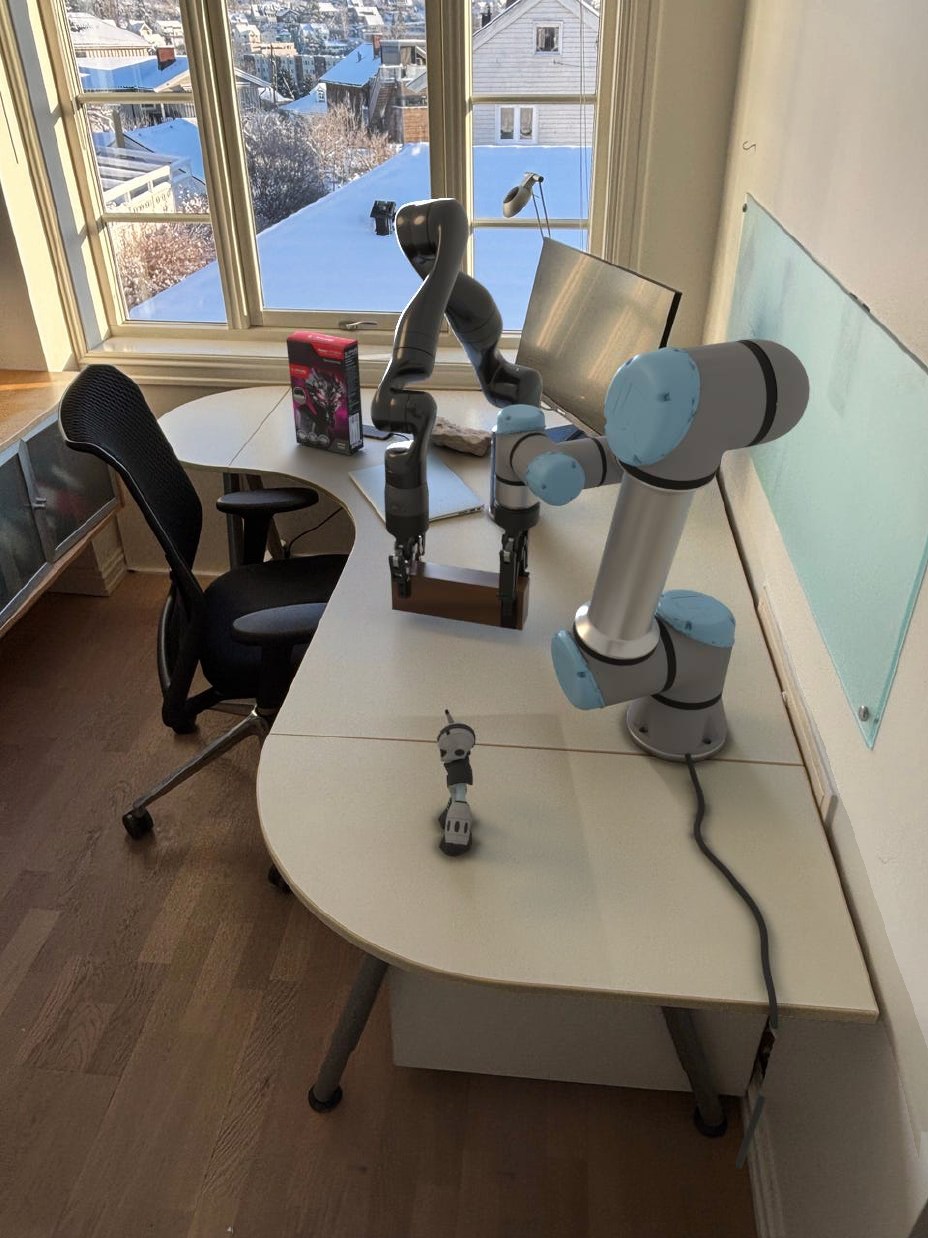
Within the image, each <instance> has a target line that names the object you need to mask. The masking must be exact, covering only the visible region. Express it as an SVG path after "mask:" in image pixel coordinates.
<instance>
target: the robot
mask: <svg viewBox="0 0 928 1238" xmlns="http://www.w3.org/2000/svg"><path fill="white" fill-rule="evenodd" d="M444 713H445V717H446V719H447V723H448V724H445V726H444V727H443V728H441V729H440V730H439V731H438V733H437V736H436V743H437V747H438V748H439V760H440V761H441V762H442V763H443V764H442V765H443V767H444V770H445V771H446V777H445V778H446V788H447V789H448V792H449V793H450V797H449V799H448V801H447V804H446V806H445V808H444V810H443V812H441V813H440V814H439V816H438V818H437V821H438V823H439V825H440V827H441V828H442V829H443V830H444V833H443V835H442V837H441V839H440V843H439V845H438V848H439V849H440V850H441V851H442V852H443V853H444V855H449V856H451V857H452V856H453V857H454V856H460V855H462V854H465V853H467V852H469V851H471V848H472V845H473V834H472V830H471V827H472V817H473V816H472V810H471V806H470V804H469V803H468V801H467V797H466V796H467V793H468V787H467V785H469V786H473V785H474V776H473V768H472V765H471V763H470V756H471V755H472V751H471V749H472V748H474V747H475V745H476V741H477V738H476V733H475V730H474V729H473V728H472V727H471V726H470V725H468V724H466V723H464V722H461V721H455V720H454V719H453V716H452V714H451V713H450V711H449V709H448V708H446V709H445V710H444Z"/></svg>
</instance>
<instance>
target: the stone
mask: <svg viewBox="0 0 928 1238" xmlns="http://www.w3.org/2000/svg"><path fill="white" fill-rule="evenodd" d="M491 436H492V432H489V431H488V430H487V431H486V430H482V429H474V428H470V427H463V426H460V425H457V424H456V423H452V422H451V421H450V420H447V419H445V418H444V417H442V416H437V417H436V421H435V424H434V428H433V431H432V434H431V437H430V441H433V442H434V443H435V445H436V446H440V447H443V446H446V447H448V448H450V449H453V450H457V451H459V452H464V453H471V454H474V455H475V456H478V457H483V456H484V455H485V454H486V452H487V449H488V448H489V446H491Z"/></svg>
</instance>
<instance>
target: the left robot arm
mask: <svg viewBox="0 0 928 1238" xmlns="http://www.w3.org/2000/svg"><path fill="white" fill-rule="evenodd" d="M394 219H395V220H394V229H395V235H396V239H397V242H398V245H399V247H400V250H401V251H402V253H403V255H404V257H405V258H406V260H407V261H408V264H410V266H411V267H412V268H413V270H414V272H416V274H417V275H418V277H419V278H420V279H421V280H422V282H423V283H422V284H421V286H420V288H419V289H418V290H417V292H416V293H415V294H414V295H413V297H412V299H410V301H409V303H408V304H407V306H406V307H405V309H404V310H403V311H402V314H401V315H400V317H399V320H398V321H397V322H398V323H397V325H396V329H395V334H394V339H393V340H394V341H393V346H392V350H391V357H390V361H389V363H388V365H387V368H386V371H385V373H384V375H383V378H382V380H381V381H380V383H379V385H378V387H377V389H376V391H375V393H374V394H373V398H372V400H371V404H370V410H369V411H370V412H369V413H370V420H371V422H372V425H373V427H374V428H375V429H376V430H378V431H379V432H382V433H388V434H399V435H408V436H409V435H410V436H412V439H411V440H407V441H401V442H396V443H393V444H391V445H389V446H388V447H386V449H385V450H384V455H383V456H384V457H383V461H384V463H383V465H384V490H383V491H384V492H383V494H384V496H383V497H384V519H385V521H384V522H385V523H384V524H385V530H386V531H387V533H388V534H390V535H391V536H392V537H393V538H395V540H394V541H393V551H394V554H389V555H388V557H387V558H388V559H387V560H388V566H389V573H390V580H391V579H392V582H397V590H398V597H400V598H405V599H408V598H409V597H410V596H411V590H410V578H411V577H410V576H411V568H413V567H414V562H415V561H421V562H423V558H422V557H424V555H426V554H425V553H426V538H427V537H426V536H427V535H426V534H427V532H428V530H429V529H430V493H429V491H430V490H429V485H428V451H429V446H430V441H431V439H430V437H431V434H432V431H433V428H434V424H435V421H436V417H438V404H437V401H436V400H435V398H434V396H433V395H432V394H431V393H430V392H428V391H425V390H417V389H405V387H406V386H408V385H410V384H413V383H420V382H424V381H426V380H427V381H428V380H429V379H430V378H431V377H432V375H433V373H434V369H435V363H436V356H437V352H438V346H439V339H440V334H441V329H442V324H443V320H444V318H445V319H446V321H447V323H448V325H449V327H450V329H451V331H452V332H453V334H454V336H455V337H456V339H457V341H458V342H459V344H460V346H461V347H462V349H463V351H464V353H465V355H466V357H467V359H468V361H469V362H470V364H471V366H472V368H473V371H474V373H475V375H476V378H477V381H478V382H479V383H478V384H479V386H480V388H481V391H482V393H483V395H484V397H485V399H486V401H487V402H488V403H489V404H490V405H492V406H493V407H495V408H498V409H501V410H502V409H503V408H505V407H507V406H511V405H531V406H534V407H537V408H539V409H541V408H542V400H543V378H542V375H541V373H540V372H539V371H538V370H537V369H535V368H532V367H527V366H525V365H524V366H523V365H519V364H516V363H511V362H509V361H508V360H507V359H505V358H504V355H502V352H501V350H500V349H499V347H498V346H499V344H500V341H501V339H502V335H503V331H504V321H503V317H502V314H501V312H500V309H499V308H498V306H497V304H496V301H495V300H494V298H493V296H492V294H491V292H490V291H489V290H488V289H487V288H486V287H485V286H484V285H483V284H482V283H481V282H479V281H478V280H477V279H475V278H474V277H473V276H471V275H469V274H468V273H466V271H463V270H462V269H461V267H462V263H463V260H464V258H465V254H466V251H467V247H468V241H469V234H470V233H469V232H470V226H469V217H468V213H467V212H466V209H465V207H464V206H463V204H462V203H461V202H460V201H459V200H458V199H456V198H447V197H446V198H438V199H429V200H422V201H421V200H420V201H414V202H410V203H407V204H404V205H402V206H401V207H400V208H399V209H398V210H397V212H396V215H395V218H394ZM541 410H542V409H541ZM496 427H497V424H496V425H494V426H493V427H492V429H491V434H492V436H491V444H490V476H489V478H490V481H489V483H490V484H489V509H488V515H489V517H490V518H491V519H492V520H493V521H494V501H495V498H494V483H495V458H496V434H495V431H496ZM580 431H581V430H579V429H578V428H576V430H574V431H573V432H572V433H571V434H569V435H568V436H567V437H566V438H565V439H563V441H562V442H565V441H570V440H571V439H572V438H573V437H574V436H576V434H577V433H579V432H580ZM405 561H410V563H405Z"/></svg>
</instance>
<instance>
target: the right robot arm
mask: <svg viewBox="0 0 928 1238" xmlns="http://www.w3.org/2000/svg"><path fill="white" fill-rule="evenodd" d="M808 375H809V374H808V373H807V370H806V368H805V366H804V364H803V363H802V361H801V360H800V359H799V357H798V356H797V355H796V354H795V353H794V352H793V351H792V350H790V349H789V348H787V347H786V346H784V345H783V344H781V343H779V342H776V341H772V340H768V339H761V338H747V339H739V340H734V341H725V342H718V343H710V344H702V345H695V346H686V347H676V346H666V347H661V348H659V349H656V350H654V351H649V352H644V353H639V354H636V355H635V356H633V357H631V358H629V359H627V360H626V361H625V362H623V364H621V366H620V367H619V368H618V370H617V371H616V372H615V374H614V375H613V377H612V379H611V382H610V384H609V386H608V389H607V391H606V396H605V401H604V404H605V406H604V409H603V418H605V419H606V424H605V425H604V432H605V435H600V436H595V437H585V438H579V439H572V440H568V441H565V442H563V441H559V442H555V441H554V440H553V439H551V438H550V437H549V436H548V435H546V434H545V433H546V432H545V430H546V428H547V425H546V415H545V413H544V411H543V409H539V408H537V407H534V406H531V405H511V406H507V407H505V408H503V409H501V410H499V411H498V414H497V417H496V418H497V419H496V425H497V427H496V431H495V434H496V458H495V483H494V498H495V501H494V520H493V521H494V523H495V524H496V525H497V527H499V528H501V529H503V530H504V532H503V533H501V539H500V542H501V549H500V550H499V552H498V555H499V572H498V573H499V593H497V595H496V596H497V597H498V599H499V600H501V618H500V627H499V628H502V629H508V630H509V629H510V630H515V629H516V620H517V600H518V596H517V595H516V591H517V581H518V576H522V577H529V578H530V574H531V573H530V572H529V571H526V570H528V567H529V545H530V530H531V529H533V528H535V527H536V526H537V525H538V524H539V521H540V512H541V511H540V510H541V502H540V500H541V501H542V502H544V503H546V504H547V505H549V506H554V507H561V506H566V505H568V504H569V503H570V502H572V501H573V500H575V499H577V498H578V497H579V496H580V494H581V493H582V491H584V490H589V489H595V488H599V487H605V486H610V485H617V484H620V487H619V490H618V495H617V498H616V501H615V506H614V509H613V515H612V518H611V522H610V525H609V530H608V533H607V536H606V537H607V538H606V540H605V545H604V550H603V552H602V556H601V559H600V563H599V568H598V572H597V575H596V580H595V584H594V587H593V592H592V596H591V599H589V600H587V601H586V602H584V603H583V604H582V605H581V606H580V607H579V608H578V609H577V611H576V613H575V617H574V621H573V624H572V628H570V629H565V628H564V629H561V630H560V631H557V632H556V633H554V635H553V636H552V637H551V643H550V654H551V660H552V661H551V662H552V664H553V665H552V666H553V668H554V672H555V676H556V678H557V681H558V683H559V686H560V688H561V690H562V692H563V694H564V696H565V697H566V699H567V700H568V701H569V703H570V704H571V705H572V706H573V707H574V708H577V709H579V710H582V711H590V710H595V709H600V710H601V709H605V708H607V707H611V706H614V705H618V704H622V703H625V702H630V704H629V706H628V708H627V713H626V719H625V728H626V732H627V734H628V736H629V738H630V739H631V741H632V742H634V744H636V745H637V746H638V747H639V748H640V749H641V750H643V751H645V752H646V753H648V754H650V755H651V756H654V757H656V758H659V759H662V760H666V761H670V762H675V763H686V765H687V768H688V771H689V775H690V778H691V782H692V785H693V787H694V790H695V794H696V797H697V812H696V816H695V819H694V823H693V835H694V839H695V841H696V844H697V846H698V847H699V849H700V851H701V852H702V853H703V855H704V856H705V857H706V858H707V859H708V860H709V861H710V862H711V864H713V865H714V866H715V867H716V868H717V870H719V871H720V872H721V873H722V874H723V876H724V877H725V878H726V879H727V881H728V882H729V884H731V886H732V887H733V888H734V890H735V891H736V892H737V893H738V894H739V895H740V897H741V898H742V899H743V901H744V902H745V904H746V905H747V906H748V908H749V910H750V911H751V912H752V914H753V917H754V919H755V921H756V924H757V926H758V930H759V931H758V932H759V938H760V959H761V960H760V961H761V967H762V973H763V978H764V984H765V987H766V992H767V999H768V1008H769V1026H770V1028H771V1029H773V1030H777V1029H779V1011H778V1010H779V1008H778V1000H777V995H776V989H775V984H774V981H773V976H772V971H771V965H770V952H769V951H770V950H769V936H768V930H767V929H768V928H767V925H766V923H765V919H764V917H763V914H762V912H761V910H760V909H759V907H758V905H757V904H756V902H755V900H754V899H753V897H752V896H751V895H750V894H749V893H748V891H747V890H746V889H745V888H744V887H743V886H742V884H741V883H740V882H739V880H737V878H736V877H735V876H734V874H733V873H732V872H731V871H730V869H728V867H727V866H726V865H725V864H724V863H723V862H722V861H721V860H720V859H719V858H718V857H717V856H716V855H715V854H714V853H713V852H712V851H711V850H710V849H709V847H708V845H706V843H705V841H704V840H703V837H702V833H701V826H702V822H703V819H704V814H705V811H706V810H705V809H706V808H705V807H706V803H705V797H704V793H703V789H702V787H701V784H700V781H699V778H698V774H697V772H696V768H695V764H694V762H700V761H703V760H706V759H709V758H711V757H714V755H716V754H718V752H720V751H721V750H722V748H723V747H724V744H725V743H726V740H727V739H726V738H727V733H728V721H727V716H726V712H725V708H724V707H725V706H724V701H723V692H724V686H725V682H726V678H727V677H726V676H727V672H728V668H729V664H730V659H731V654H732V651H733V647H734V645H735V642H736V639H735V632H736V627H737V626H736V617H735V616H734V614H733V612H732V611H731V609H730V608H729V607H728V606H727V605H726V604H724V603H723V602H722V601H720V600H719V599H717V598H715V597H713V596H710V595H709V594H706V593H703V592H699V591H695V590H692V589H691V590H690V589H670V590H666V591H664V589H665V586H666V583H667V580H668V578H669V573H670V571H671V568H672V565H673V563H674V559H675V556H676V553H677V549H678V547H679V543H680V540H681V538H682V534H683V533H684V532H683V531H684V529H685V526H686V522H687V519H688V517H689V513H690V511H691V507H692V504H693V501H694V498H695V495H696V492H697V491H699V490H701V489H704V488H706V487H707V486H709V485H710V484H712V483H713V481H714V479H715V478H716V475H717V473H718V469H719V466H720V464H721V461H722V459H723V456H724V454H725V453H726V452H727V451H733V450H739V449H745V448H750V447H754V446H759V445H763V444H767V443H770V442H774V441H776V440H778V439H780V438H782V437H783V436H785V435H787V434H788V433H789V432H791V431H792V430H793V429H794V428H795V427H796V426H797V425H798V424H799V423H800V421H801V420H802V418H803V417H804V414H805V413H806V410H807V408H808V404H809V401H810V392H811V391H810V390H811V386H810V380H809V376H808ZM766 1099H767V1097H766V1096H763V1095H761V1094H757V1096H756V1101H755V1105H754V1108H753V1111H752V1114H751V1116H750V1120H749V1123H748V1125H747V1128H746V1131H745V1134H744V1136H743V1138H742V1142H741V1145H740V1148H739V1151H738V1155H737V1157H736V1160H735V1167H736V1168H737V1169H742V1168H743V1167H744V1163H745V1160H746V1157H747V1155H748V1151H749V1148H750V1145H751V1143H752V1141H753V1138H754V1135H755V1132H756V1130H757V1126H758V1124H759V1121H760V1118H761V1115H762V1112H763V1108H764V1107H765V1103H766Z"/></svg>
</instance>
